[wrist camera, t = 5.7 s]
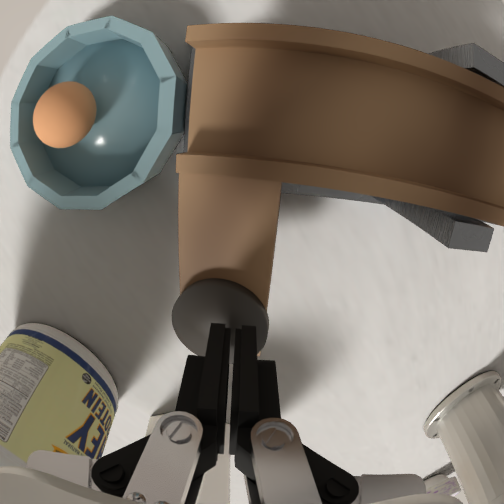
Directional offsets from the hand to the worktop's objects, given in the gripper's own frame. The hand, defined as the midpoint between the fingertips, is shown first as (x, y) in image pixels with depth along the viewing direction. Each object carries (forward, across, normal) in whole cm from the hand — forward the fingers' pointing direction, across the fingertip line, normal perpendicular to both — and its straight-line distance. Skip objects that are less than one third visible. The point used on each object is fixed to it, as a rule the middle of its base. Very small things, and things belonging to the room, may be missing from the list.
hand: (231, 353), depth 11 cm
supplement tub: (+8, +16, +12) cm, 21 cm away
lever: (+1, -8, -5) cm, 10 cm away
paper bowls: (+10, -46, +56) cm, 73 cm away
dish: (+7, +8, -9) cm, 14 cm away
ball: (+5, +9, -9) cm, 14 cm away
